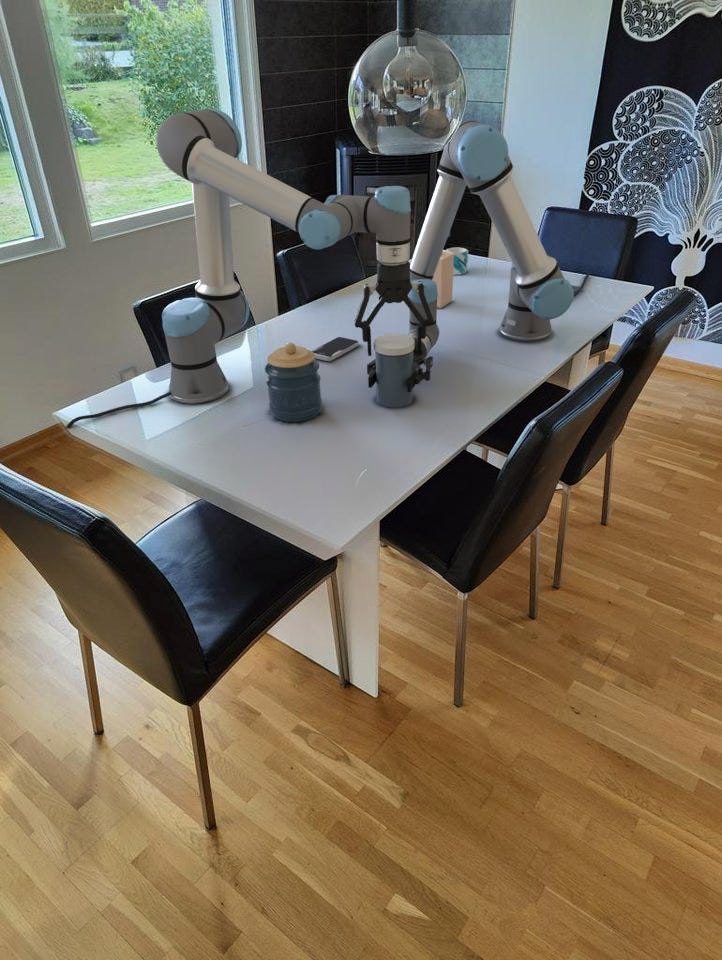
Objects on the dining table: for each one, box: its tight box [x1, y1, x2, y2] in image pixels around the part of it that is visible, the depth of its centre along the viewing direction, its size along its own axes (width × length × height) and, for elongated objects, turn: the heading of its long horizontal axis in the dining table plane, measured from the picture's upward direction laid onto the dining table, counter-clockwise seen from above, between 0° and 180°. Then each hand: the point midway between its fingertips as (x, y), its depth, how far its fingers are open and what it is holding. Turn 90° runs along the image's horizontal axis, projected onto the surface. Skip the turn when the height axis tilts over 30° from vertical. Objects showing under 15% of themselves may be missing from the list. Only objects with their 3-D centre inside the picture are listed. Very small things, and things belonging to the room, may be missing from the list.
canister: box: [264, 342, 323, 423], centre depth 161 cm, size 13×13×18 cm
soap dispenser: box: [432, 231, 454, 309], centre depth 227 cm, size 13×9×22 cm
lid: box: [373, 333, 415, 356], centre depth 162 cm, size 10×10×2 cm
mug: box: [445, 246, 469, 276], centre depth 261 cm, size 8×12×8 cm
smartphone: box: [311, 336, 359, 362], centre depth 198 cm, size 8×1×15 cm
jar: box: [374, 350, 414, 409], centre depth 166 cm, size 9×9×15 cm
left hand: (394, 352), depth 163 cm, fingers open, 11 cm apart
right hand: (389, 384), depth 163 cm, fingers closed on jar, 9 cm apart
